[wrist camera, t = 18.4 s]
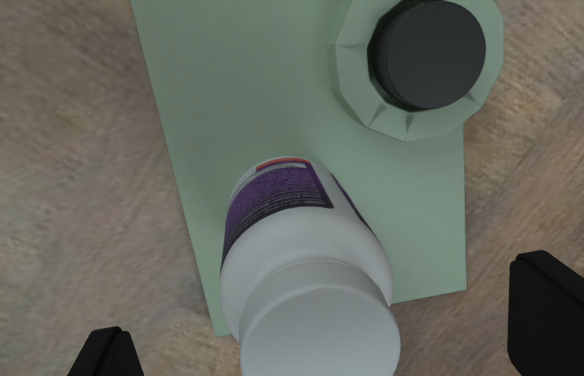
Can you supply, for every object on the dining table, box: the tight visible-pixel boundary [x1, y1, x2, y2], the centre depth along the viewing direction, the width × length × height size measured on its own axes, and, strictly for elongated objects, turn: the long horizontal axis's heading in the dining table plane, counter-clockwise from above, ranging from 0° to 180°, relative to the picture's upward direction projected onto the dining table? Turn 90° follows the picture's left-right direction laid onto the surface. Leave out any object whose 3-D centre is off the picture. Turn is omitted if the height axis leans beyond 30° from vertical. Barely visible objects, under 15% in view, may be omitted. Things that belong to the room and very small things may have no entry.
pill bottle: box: [219, 156, 401, 376], centre depth 15 cm, size 5×5×10 cm
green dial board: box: [130, 0, 504, 337], centre depth 19 cm, size 16×14×3 cm
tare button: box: [373, 1, 486, 109], centre depth 16 cm, size 4×4×2 cm
